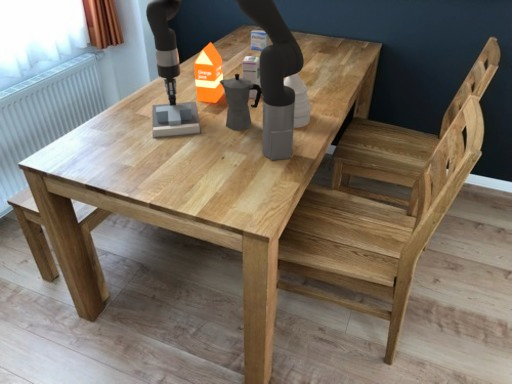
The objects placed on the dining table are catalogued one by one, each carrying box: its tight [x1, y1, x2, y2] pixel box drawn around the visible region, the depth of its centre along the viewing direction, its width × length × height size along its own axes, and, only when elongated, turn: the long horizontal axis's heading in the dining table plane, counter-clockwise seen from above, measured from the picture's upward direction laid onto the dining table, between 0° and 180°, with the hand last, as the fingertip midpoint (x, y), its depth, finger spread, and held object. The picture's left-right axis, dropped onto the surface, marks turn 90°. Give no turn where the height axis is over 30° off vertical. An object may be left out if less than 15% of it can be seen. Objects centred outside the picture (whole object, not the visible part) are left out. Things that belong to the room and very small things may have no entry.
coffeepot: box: [219, 73, 263, 131], centre depth 145 cm, size 15×9×18 cm, turn 66°
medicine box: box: [250, 29, 270, 51], centre depth 213 cm, size 8×4×9 cm, turn 73°
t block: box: [156, 104, 192, 126], centre depth 150 cm, size 12×12×4 cm
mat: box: [151, 101, 203, 140], centre depth 154 cm, size 26×16×1 cm, turn 11°
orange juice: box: [193, 42, 224, 104], centre depth 163 cm, size 8×9×20 cm
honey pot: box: [284, 73, 312, 129], centre depth 148 cm, size 13×13×18 cm
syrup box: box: [241, 55, 261, 99], centre depth 166 cm, size 6×6×14 cm
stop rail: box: [152, 123, 201, 137], centre depth 144 cm, size 2×15×2 cm, turn 101°
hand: (173, 108), depth 158 cm, fingers closed
